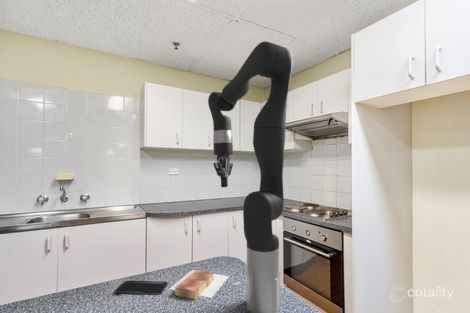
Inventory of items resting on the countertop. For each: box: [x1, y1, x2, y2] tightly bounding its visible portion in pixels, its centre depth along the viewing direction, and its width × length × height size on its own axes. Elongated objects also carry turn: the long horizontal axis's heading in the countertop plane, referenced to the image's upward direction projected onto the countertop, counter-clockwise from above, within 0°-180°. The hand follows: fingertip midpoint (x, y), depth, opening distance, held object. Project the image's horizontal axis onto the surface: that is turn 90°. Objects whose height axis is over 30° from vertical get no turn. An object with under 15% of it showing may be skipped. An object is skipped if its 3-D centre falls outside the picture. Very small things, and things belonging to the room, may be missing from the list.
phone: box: [114, 280, 169, 296], centre depth 79 cm, size 8×1×15 cm
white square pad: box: [169, 269, 230, 299], centre depth 83 cm, size 15×15×1 cm
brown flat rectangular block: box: [174, 269, 215, 301], centre depth 80 cm, size 7×2×13 cm
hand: (224, 187), depth 95 cm, fingers closed
